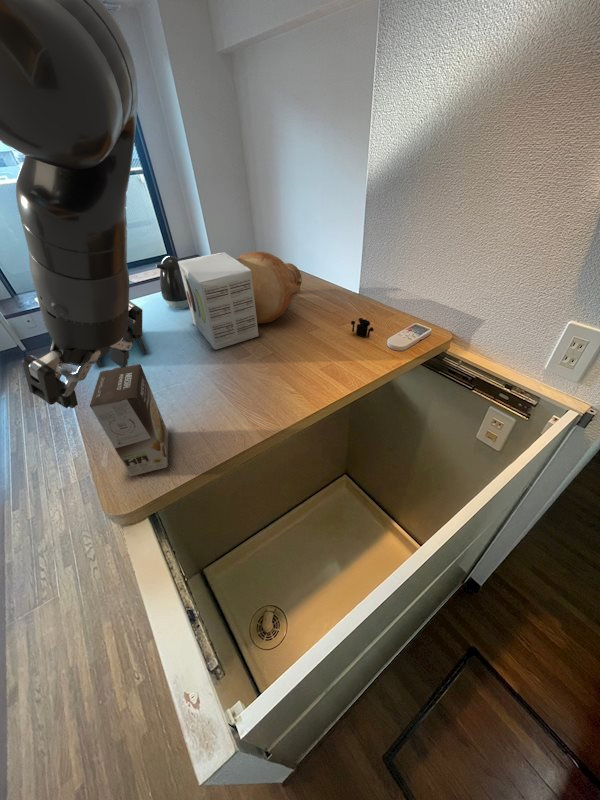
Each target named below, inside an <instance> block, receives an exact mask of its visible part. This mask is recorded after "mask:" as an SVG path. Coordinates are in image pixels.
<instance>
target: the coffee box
mask: <svg viewBox="0 0 600 800" xmlns="http://www.w3.org/2000/svg"><path fill="white" fill-rule="evenodd" d="M89 408H90V409H91V410H92V412H93V414H94V416H95V417H96V419H97V421H98V422H99V424H100V426H101V428H102V430H103V431H104V433H105V434H106V436H107V438H108V440H109V441H110V443H111V445H112V446H113V449H115V452H116V454H117V456H118V457H119V458H120V460H121V462H122V464H123V465H124V467H125V469H126V471H127V472H128V474H129V476H130V477H134V476H138V475H142V474H146V473H150V472H155V471H158V470H163V469H166V468H168V465H169V464H168V463H169V461H168V459H169V457H168V455H169V454H168V452H169V445H168V444H169V432H168V429H167V426H166V424H165V421H164V418H163V416H162V414H161V411H160V409H159V406H158V404H157V401H156V399H155V397H154V394H153V391H152V389H151V387H150V384H149V382H148V379H147V376H146V374H145V372H144V369H143V367H142V364H141V363H139V364H130V365H127V366H125V367H124V368H122V367H120V366H119V367H115V368H112V369H107V370H101V371H99V373H98V378H97V380H96V384H95V388H94V390H93V393H92V396H91V400H90V403H89Z"/></svg>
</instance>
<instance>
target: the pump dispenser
mask: <svg viewBox="0 0 600 800" xmlns="http://www.w3.org/2000/svg"><path fill="white" fill-rule="evenodd" d="M178 261H181V260H180V259H179V258H177V257H176V256H173V255H168V256H165V257H164V258H163V259H162V261H161V263H158V264H155V267H156V269H158V270H159V285H160V286H159V287H160V292H161V296H162V299H163V300H164V301H165V302H166V304H167V305H168V306H169V307H171V308H173V309H177V310H183V309H186V308H187V309H188V308H190V306H189V302H188V298H187V295H186V291H185V287H184V283H183V279H182V275H181V271H180V267H179V264H178Z"/></svg>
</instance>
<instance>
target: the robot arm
mask: <svg viewBox="0 0 600 800" xmlns="http://www.w3.org/2000/svg"><path fill="white" fill-rule="evenodd" d="M137 79H138V78H137V73H136V67H135V63H134V60H133V56H132V53H131V50H130V47H129V45H128V42H127V40H126V37H125V35H124V33H123V31H122V28H121V27H120V26H119V24H118V21H117V20H116V19H115V17H114V16H113V14H112V13H111V11H110V10H109V8H108V7H107V6H106V4H105V3H104V2H103V1H102V0H0V143H2V144H4V145H5V146H7V147H8V148H11V149H12V150H14V151H15V152H18V153H20V154H22V155H24V158H23V161H22V163H21V166H20V168H19V169H20V170H19V172H18V174H17V178H16V183H15V198H16V204H17V210H18V215H19V217H20V222H21V227H22V229H23V234H24V237H25V242H26V246H27V249H28V262H29V263H28V264H29V270H30V274H31V278H32V283H33V286H34V290H35V294H36V298H37V302H38V306H39V309H40V313H41V317H42V321H43V324H44V326H45V329H46V331H47V332H48V334H49V336H50V338H51V340H52V342H51V345H50V349H49V350H50V352H48V353H46V354H45V355H42V356H41V357H40V358H37V357H36V356H34V355H32V354H31V355H30V354H29V355H27V356H26V357H24V358H23V360H22V361H21V365H22V368H23V373H24V376H25V379H26V383H27V386H28V390H29V392H30V393H31V394H33V395H35V396H37V397H38V398H40V399H41V400H43V401H45V402H46V403H47V404H48V405H50V406H52V405H55V404H56V403H57V404H59V405H60V406H62V407H63V408H65V409H68V408H70V409H74V408H76V407H77V406H78V405H79V404H78V399H77V393H76V390H75V389H76V386H77V385H78V383H79V382H82V381H84V380H85V379H86V377H87V376H88V374H89V371H90V370H91V368H92V366H93V364H96V361H97V360H98V359H99V358H100V359H101V358H102V357H105V356H106V355H107V354H108V353H110V360H111V362H113V363H114V364H116V365H118V366H119V367H122V368H124V367H125V366H129V365H128V364H129V359H130V350H131V349H132V347H133V345H134V344H133V342H134V340H135V341H139V339H140V338H142V337H143V309H142V308H141V307H139V306H138V305H136V304H135V303H134V302H132V301H130V274H129V267H128V222H127V221H128V219H127V200H128V199H127V197H128V187H129V182H130V177H131V170H132V161H133V154H134V147H135V139H136V131H137V130H136V129H137V122H138V121H137V119H138V118H137V117H138V99H139V98H138V95H139V93H138V80H137ZM71 365H72V366H77V367H78V368H77V369H76V368H74V367H72V366H71ZM62 376H63V377H65V378H66V381H65V382H64V381H62V380H61V377H62Z"/></svg>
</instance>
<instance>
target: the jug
mask: <svg viewBox="0 0 600 800" xmlns="http://www.w3.org/2000/svg"><path fill="white" fill-rule="evenodd" d="M235 260H237V261H239V262H240V263H241V264H243V265H244V266H246V267H247V268H249V269H250V270H251V274H252V283H253V291H254V300H255V308H256V317H257V324H267V323H271V322H273V321H275V320H277V319H279V317H281V316H282V315H283V314H284V313H285V312H286V311H287V310H288V307H289V306H290V305H291V302H292V301H293V298H294V297H293V296H294V293H297V292H301V285H302V284H303V283H302V282H303V277H302V274H301V271H300V269H298V268H299V267H297V266H296V265H295V264H293V263H290V262H284V261H283V260H282V259H281V258H279V257H278V256H275V255H274V254H272V253H270V252H266V251H259V250H258V251H255V250H254V251H249V252H245V253H243V254H241V255H239V256H238V257H237V258H235Z"/></svg>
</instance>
